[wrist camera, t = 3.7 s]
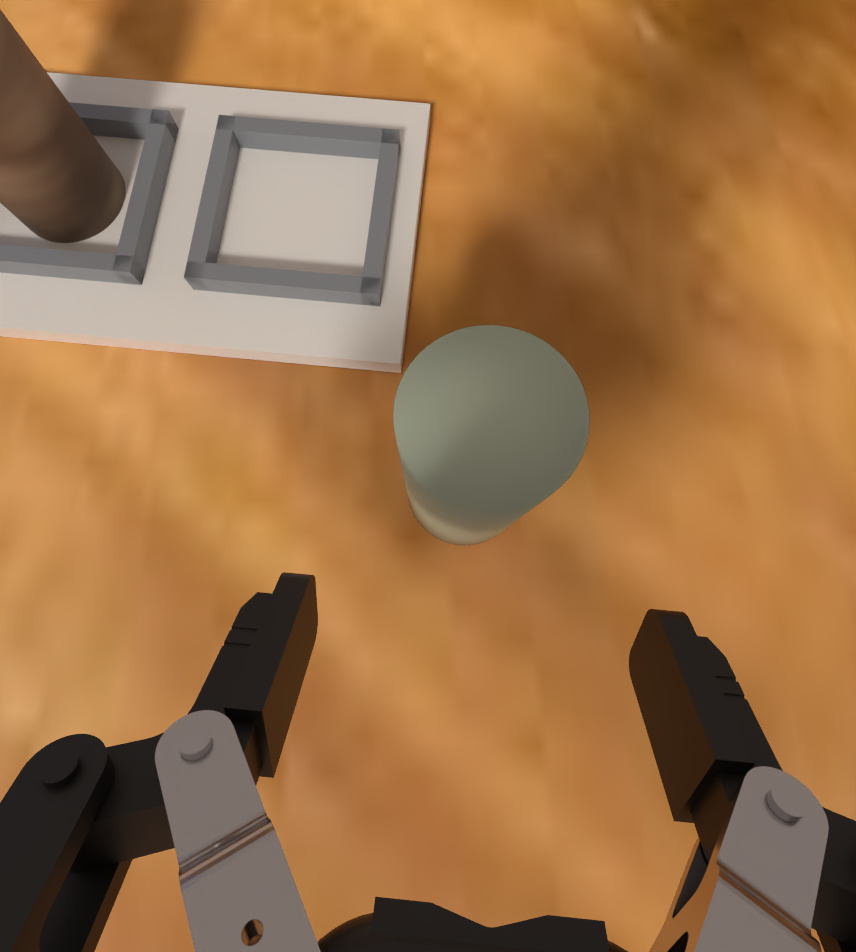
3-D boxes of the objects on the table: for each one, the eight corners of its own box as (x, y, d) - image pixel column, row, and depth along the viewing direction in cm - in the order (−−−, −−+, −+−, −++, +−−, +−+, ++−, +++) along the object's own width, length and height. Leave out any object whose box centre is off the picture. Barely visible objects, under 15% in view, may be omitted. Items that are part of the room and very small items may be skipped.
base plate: (430, 121, 27) (430, 84, 25) (401, 373, 24) (399, 354, 22) (13, 86, 28) (-18, 48, 26) (-65, 330, 25) (-107, 307, 23)
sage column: (477, 413, 24) (512, 291, 14) (543, 502, 23) (629, 439, 13) (385, 473, 23) (355, 390, 14) (450, 568, 22) (468, 552, 13)
